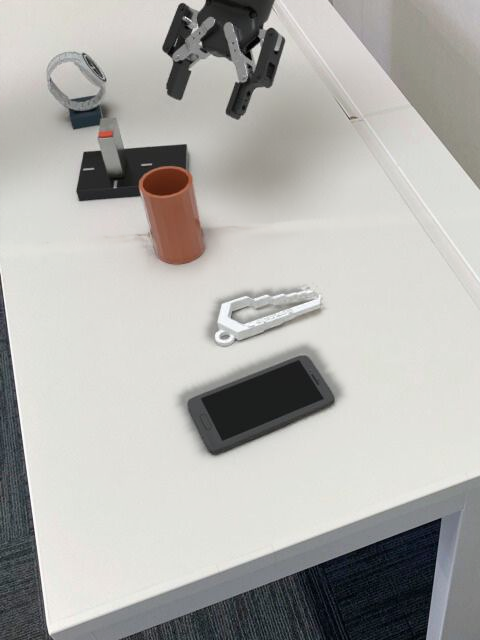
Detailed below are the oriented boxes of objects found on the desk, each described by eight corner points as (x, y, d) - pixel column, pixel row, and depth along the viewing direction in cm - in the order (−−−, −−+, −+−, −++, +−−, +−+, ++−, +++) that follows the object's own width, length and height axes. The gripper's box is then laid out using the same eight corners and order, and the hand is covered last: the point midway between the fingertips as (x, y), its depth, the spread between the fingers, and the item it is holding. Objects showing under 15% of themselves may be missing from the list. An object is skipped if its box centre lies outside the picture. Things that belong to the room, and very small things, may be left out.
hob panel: (82, 209, 101) (75, 190, 99) (89, 169, 107) (83, 150, 105) (189, 201, 103) (185, 181, 100) (190, 162, 109) (186, 142, 106)
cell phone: (185, 404, 80) (184, 399, 79) (307, 356, 84) (306, 352, 83) (211, 456, 75) (210, 452, 75) (337, 403, 80) (337, 399, 79)
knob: (111, 157, 104) (100, 116, 99) (126, 156, 104) (115, 115, 100) (108, 178, 101) (96, 137, 96) (124, 177, 101) (113, 135, 96)
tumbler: (154, 266, 94) (137, 199, 87) (156, 234, 98) (140, 168, 91) (205, 261, 94) (192, 195, 87) (205, 230, 99) (192, 164, 91)
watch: (119, 130, 114) (101, 60, 106) (63, 140, 112) (40, 69, 104) (115, 111, 118) (97, 41, 109) (61, 120, 116) (38, 50, 108)
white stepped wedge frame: (308, 284, 92) (307, 273, 90) (326, 311, 89) (325, 300, 87) (204, 319, 88) (202, 309, 87) (219, 348, 85) (217, 338, 84)
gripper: (316, -3, 88) (267, 133, 90) (216, -29, 93) (173, 101, 95) (287, -34, 81) (235, 114, 83) (181, -60, 86) (134, 80, 88)
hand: (202, 107), depth 89 cm, fingers open, 8 cm apart
